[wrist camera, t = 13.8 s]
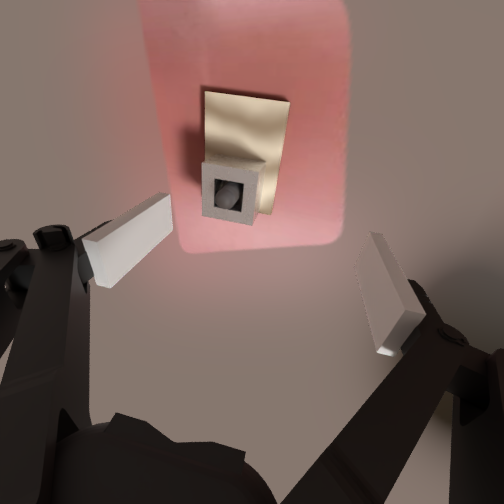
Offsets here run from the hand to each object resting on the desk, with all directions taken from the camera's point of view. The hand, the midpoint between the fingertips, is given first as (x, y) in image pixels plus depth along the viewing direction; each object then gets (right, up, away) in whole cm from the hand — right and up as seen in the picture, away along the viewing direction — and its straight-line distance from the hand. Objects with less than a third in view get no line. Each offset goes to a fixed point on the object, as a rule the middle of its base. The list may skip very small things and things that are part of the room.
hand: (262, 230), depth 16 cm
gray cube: (-3, +11, +27) cm, 29 cm away
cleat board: (-2, +15, +26) cm, 30 cm away
